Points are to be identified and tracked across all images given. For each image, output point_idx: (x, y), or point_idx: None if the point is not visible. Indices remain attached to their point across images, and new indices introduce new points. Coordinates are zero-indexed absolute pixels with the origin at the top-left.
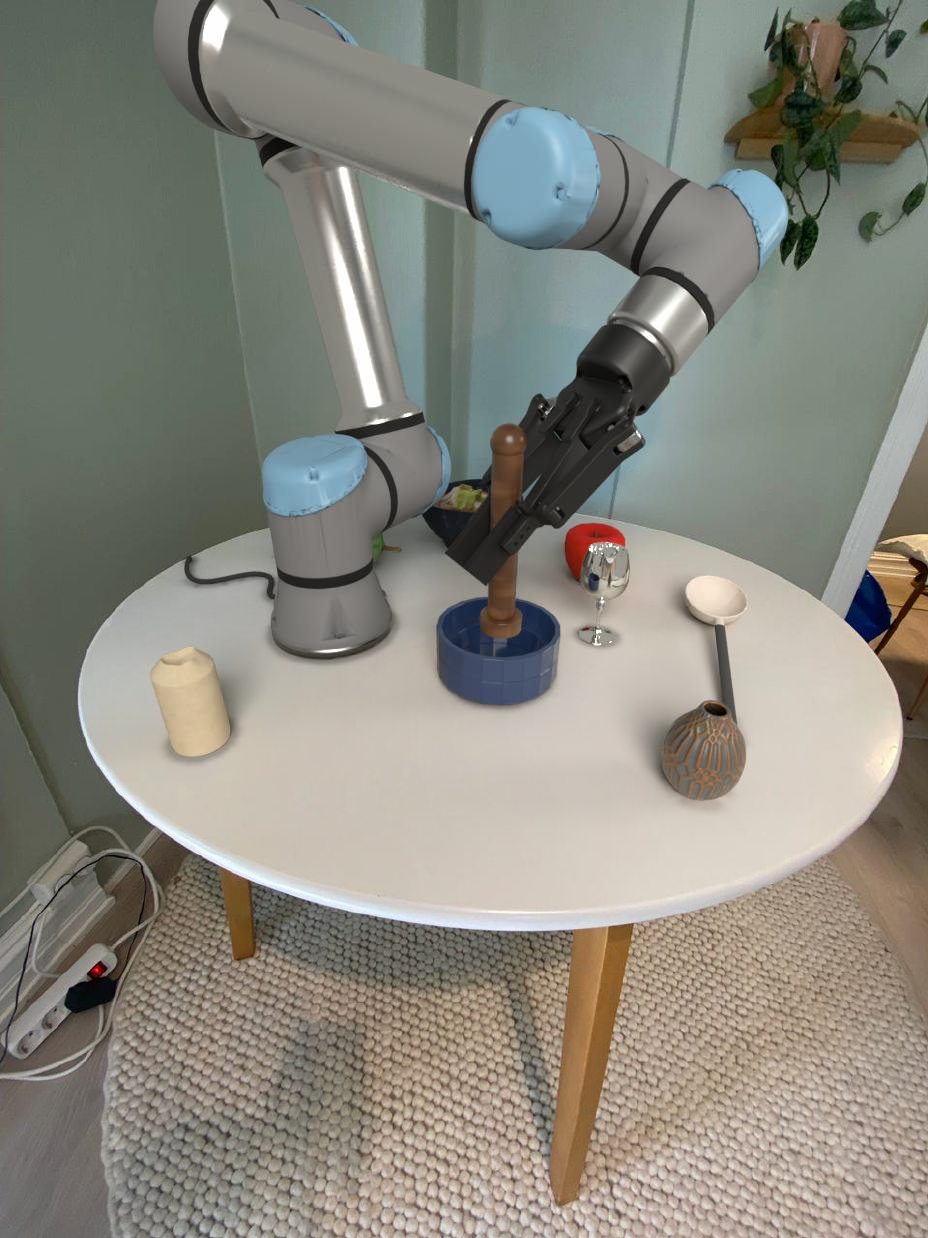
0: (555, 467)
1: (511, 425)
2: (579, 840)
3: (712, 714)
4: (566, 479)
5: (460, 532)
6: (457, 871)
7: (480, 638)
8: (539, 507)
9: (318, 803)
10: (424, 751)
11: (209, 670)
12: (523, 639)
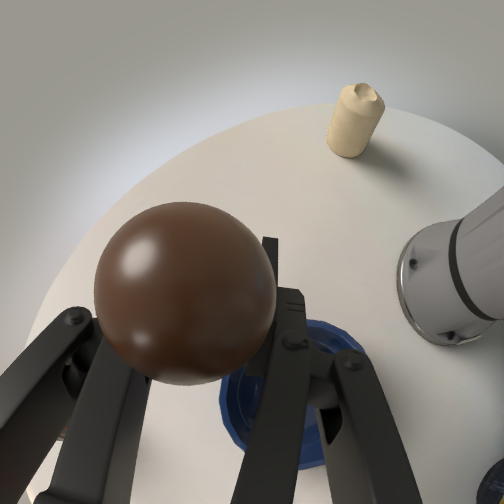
0: (81, 414)
1: (136, 263)
2: (92, 296)
3: (58, 437)
4: (28, 374)
5: (502, 467)
6: (129, 216)
7: None
8: (86, 315)
9: (236, 173)
10: None
11: (350, 108)
12: (305, 439)
